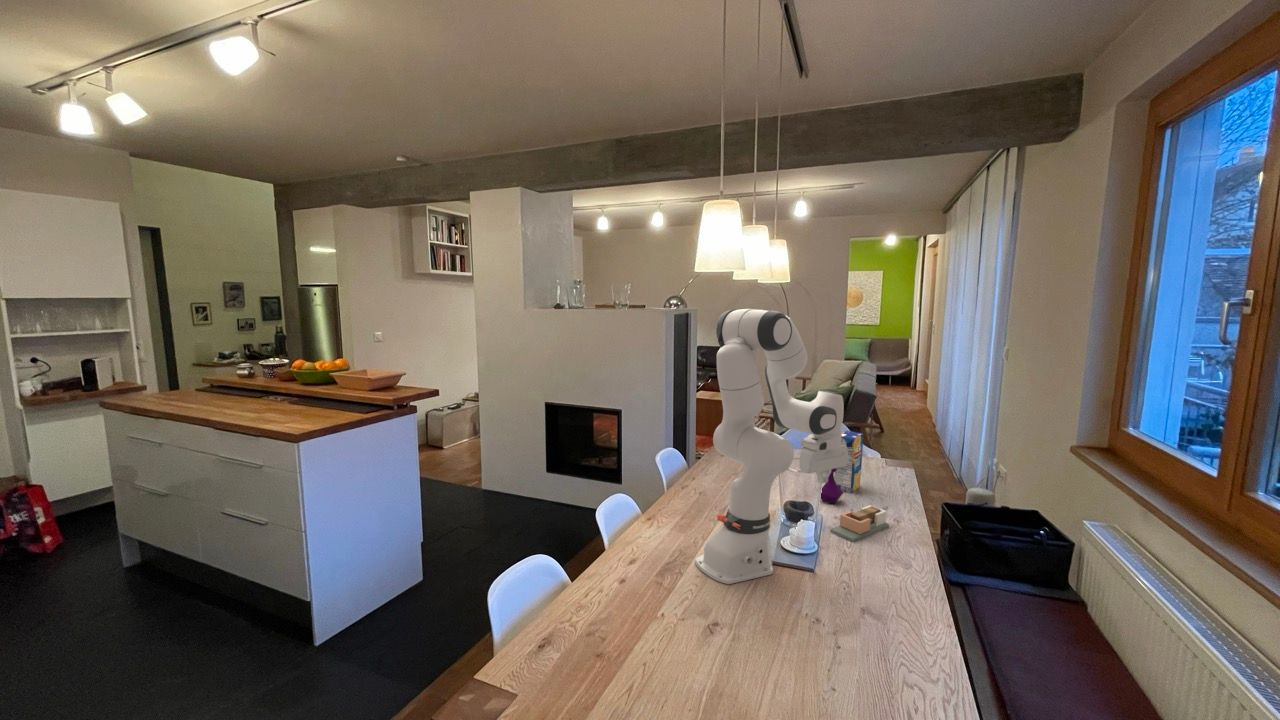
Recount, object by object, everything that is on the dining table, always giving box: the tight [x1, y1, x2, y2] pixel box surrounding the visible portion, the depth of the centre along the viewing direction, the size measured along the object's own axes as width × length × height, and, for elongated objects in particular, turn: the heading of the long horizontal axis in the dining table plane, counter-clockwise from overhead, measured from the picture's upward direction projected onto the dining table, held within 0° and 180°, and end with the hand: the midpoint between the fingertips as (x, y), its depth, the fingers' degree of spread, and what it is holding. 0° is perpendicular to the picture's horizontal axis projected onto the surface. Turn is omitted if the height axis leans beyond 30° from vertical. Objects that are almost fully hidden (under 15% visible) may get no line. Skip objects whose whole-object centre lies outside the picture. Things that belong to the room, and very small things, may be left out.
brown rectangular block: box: [850, 505, 881, 524], centre depth 162 cm, size 12×3×4 cm, turn 123°
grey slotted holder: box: [830, 504, 890, 543], centre depth 160 cm, size 20×8×5 cm, turn 123°
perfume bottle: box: [820, 468, 844, 505], centre depth 183 cm, size 8×8×18 cm
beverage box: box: [834, 430, 865, 494], centre depth 197 cm, size 7×11×22 cm, turn 138°
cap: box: [839, 510, 871, 534], centre depth 159 cm, size 6×7×4 cm
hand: (822, 482), depth 158 cm, fingers closed
